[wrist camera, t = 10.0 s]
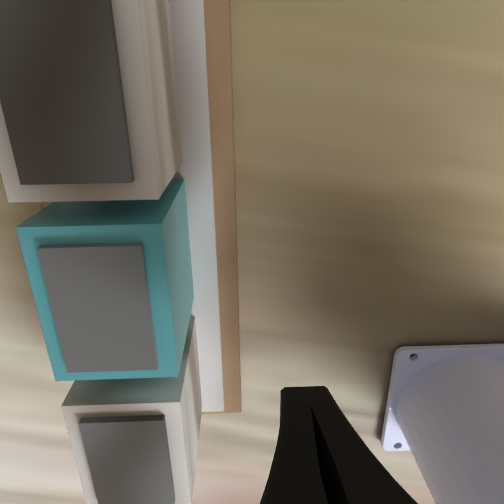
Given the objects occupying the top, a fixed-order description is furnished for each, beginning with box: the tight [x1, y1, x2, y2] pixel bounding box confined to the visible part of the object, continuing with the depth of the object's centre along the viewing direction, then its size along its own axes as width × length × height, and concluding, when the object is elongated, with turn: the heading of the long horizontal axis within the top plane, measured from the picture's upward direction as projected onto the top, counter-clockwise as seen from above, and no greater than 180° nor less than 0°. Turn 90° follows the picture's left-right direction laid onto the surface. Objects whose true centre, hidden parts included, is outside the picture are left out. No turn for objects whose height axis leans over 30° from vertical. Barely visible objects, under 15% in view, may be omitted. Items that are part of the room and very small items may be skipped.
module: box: [15, 179, 194, 381], centre depth 16 cm, size 4×6×6 cm
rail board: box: [0, 0, 241, 504], centre depth 17 cm, size 9×22×8 cm, turn 1°
